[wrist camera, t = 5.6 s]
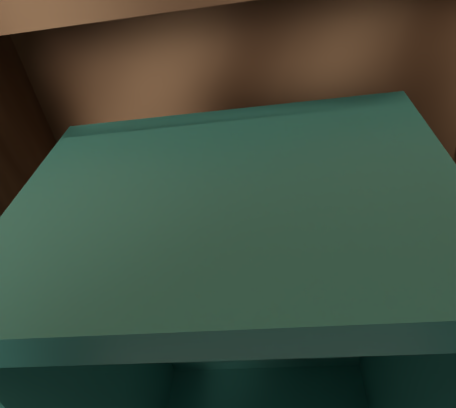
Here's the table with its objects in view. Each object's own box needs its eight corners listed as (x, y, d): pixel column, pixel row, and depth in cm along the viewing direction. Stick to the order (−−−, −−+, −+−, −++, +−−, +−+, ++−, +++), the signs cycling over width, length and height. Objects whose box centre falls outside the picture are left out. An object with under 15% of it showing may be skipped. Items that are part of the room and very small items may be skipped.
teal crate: (403, 91, 8) (563, 316, 4) (372, 358, 13) (426, 578, 9) (69, 126, 8) (-97, 343, 4) (164, 365, 13) (126, 569, 9)
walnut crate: (527, -121, 12) (739, -123, 7) (447, 230, 20) (517, 354, 14) (-29, -31, 14) (-195, 20, 9) (98, 254, 22) (49, 370, 16)
